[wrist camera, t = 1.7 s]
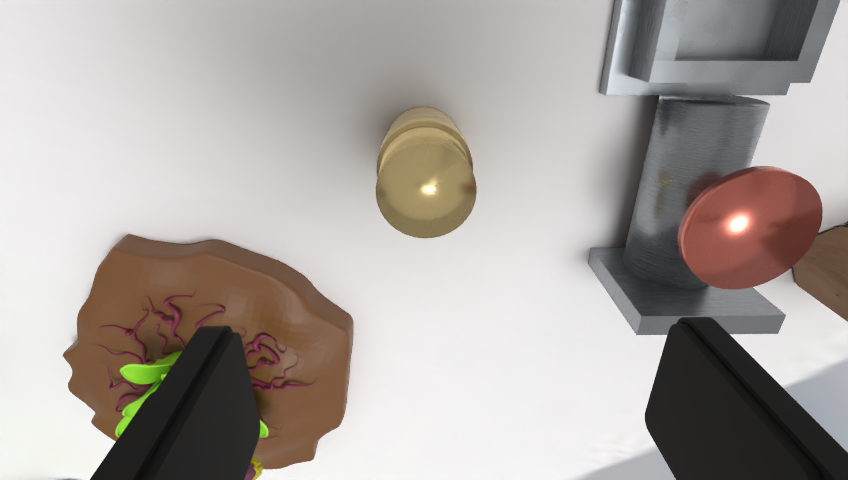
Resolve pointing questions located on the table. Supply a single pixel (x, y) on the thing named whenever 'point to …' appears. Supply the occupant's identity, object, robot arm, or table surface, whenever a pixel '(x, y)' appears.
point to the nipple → (425, 174)
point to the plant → (213, 306)
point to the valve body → (710, 159)
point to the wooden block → (826, 270)
